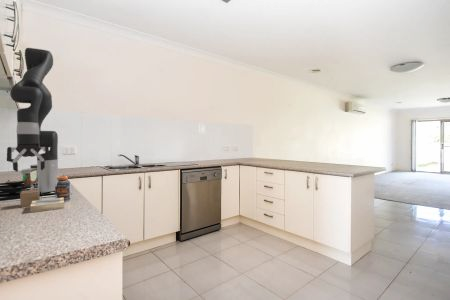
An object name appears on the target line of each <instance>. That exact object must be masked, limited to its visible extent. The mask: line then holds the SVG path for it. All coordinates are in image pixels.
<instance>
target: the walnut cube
mask: <svg viewBox="0 0 450 300" xmlns="http://www.w3.org/2000/svg"><path fill="white" fill-rule="evenodd" d="M19 197H20V208H26V207H27V208H28V207H29V208H30V205H31V203H32V201H36V200H41V199H40V192H39V189H38V188H37V189H31V190H21V191H20V193H19Z"/></svg>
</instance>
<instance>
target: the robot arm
mask: <svg viewBox="0 0 450 300" xmlns="http://www.w3.org/2000/svg"><path fill="white" fill-rule="evenodd" d="M24 59H25V66H26V71H25V73H24V74H23V75H22V78H21V80H19V81H18V82H17V83H15V84H14V85H13V86H12V87H11V89H10V98H11V99H12V100H13V101H14V102H15V103H19V104H30V105H29V106H28V107H24V108H19V109H17V111H16V121H17V122H16V123H17V124H16V141H17V142H16V147H15V146H14V147H13V146H12V147H11V146H8V147H7V148H6V162H10V163H12V169H13V171H14V172H19V163H18V161H19V160H20V159H21V158H22V157H24V158H26V157H27V158H28V157H36V165H37V172H38V181H37V190H38V189H39V193H48V192H49V193H50V192H55V182H57V181H58V180H57V177H59V163H58V162H59V157H58V144H59V142H58V140H59V139H58V138H59V135H58V133H57V132H56V131H55V130H42V129H41V127H42V124H43V122H44V121H45V119H46V117H47V116H48V115H49V113H50V112H51V111H52V108H53V98H52V97H53V96H52V94H51V92H50V90H49V89H48V88H47V86H46V85H45V84H44V83H43V81H44V79H45V78H46V76H47V75H48V73H50V71H51V70H52V68H53V66H54V57H53V54H52V52H51V51H50V50H46V49H41V48H35V47H34V48H33V47H26V48H25V50H24ZM41 150H42V152H44V153H40V152H41ZM15 151H16V152H17V153H18V154H17V155H16V157H15V158H12V156H13V155H12V153H14V152H15Z"/></svg>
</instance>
